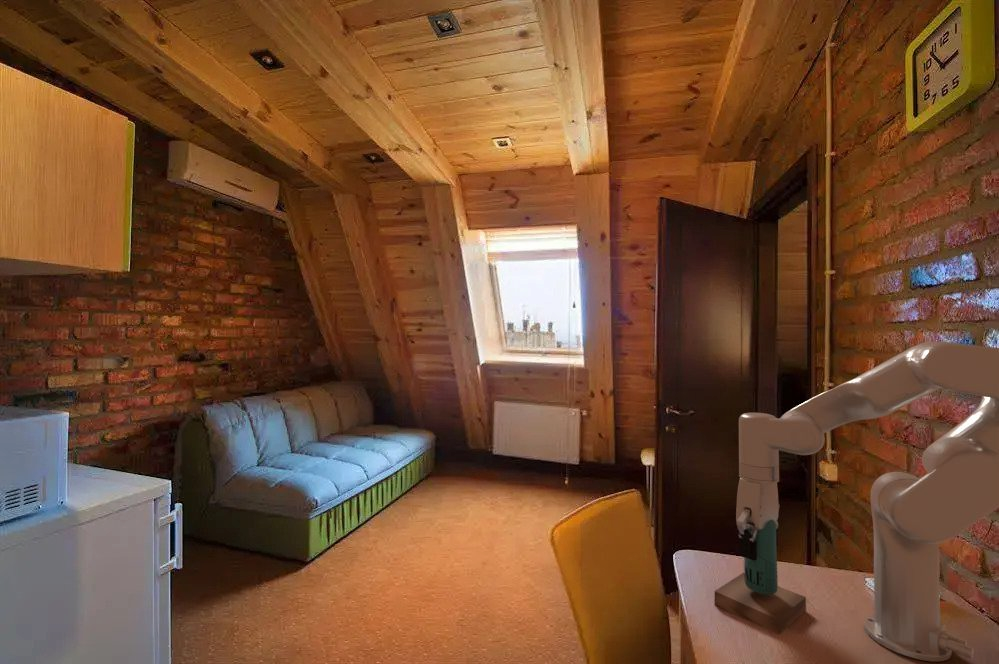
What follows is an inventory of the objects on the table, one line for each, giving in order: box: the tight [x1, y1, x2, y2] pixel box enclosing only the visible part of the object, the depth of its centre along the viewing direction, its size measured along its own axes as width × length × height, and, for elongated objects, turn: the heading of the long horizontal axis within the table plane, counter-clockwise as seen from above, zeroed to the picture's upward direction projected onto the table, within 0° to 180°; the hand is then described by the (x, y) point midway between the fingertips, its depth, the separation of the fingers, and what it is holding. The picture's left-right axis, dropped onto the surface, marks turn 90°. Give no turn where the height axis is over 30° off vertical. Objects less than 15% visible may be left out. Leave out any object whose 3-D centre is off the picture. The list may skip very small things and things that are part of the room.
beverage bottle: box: [743, 520, 779, 594], centre depth 101 cm, size 6×7×20 cm
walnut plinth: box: [714, 572, 807, 636], centre depth 101 cm, size 13×13×3 cm
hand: (759, 551), depth 101 cm, fingers open, 9 cm apart
